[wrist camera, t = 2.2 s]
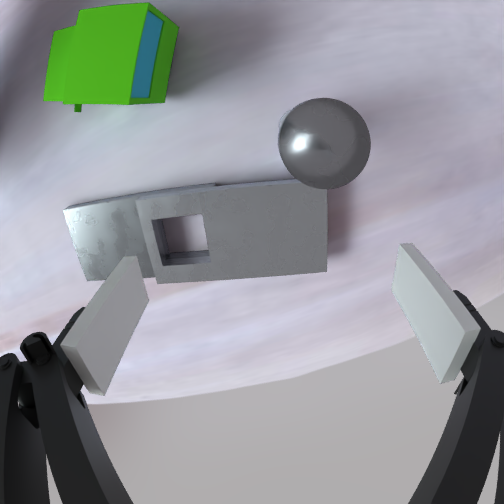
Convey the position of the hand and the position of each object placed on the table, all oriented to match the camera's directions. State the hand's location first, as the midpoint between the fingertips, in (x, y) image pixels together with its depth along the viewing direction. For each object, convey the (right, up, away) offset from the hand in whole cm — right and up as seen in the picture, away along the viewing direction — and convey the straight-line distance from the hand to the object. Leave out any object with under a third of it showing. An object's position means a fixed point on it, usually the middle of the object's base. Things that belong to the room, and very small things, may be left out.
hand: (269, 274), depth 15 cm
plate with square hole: (-8, +4, +19) cm, 21 cm away
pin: (+4, +13, +14) cm, 20 cm away
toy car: (-15, +21, +10) cm, 28 cm away
